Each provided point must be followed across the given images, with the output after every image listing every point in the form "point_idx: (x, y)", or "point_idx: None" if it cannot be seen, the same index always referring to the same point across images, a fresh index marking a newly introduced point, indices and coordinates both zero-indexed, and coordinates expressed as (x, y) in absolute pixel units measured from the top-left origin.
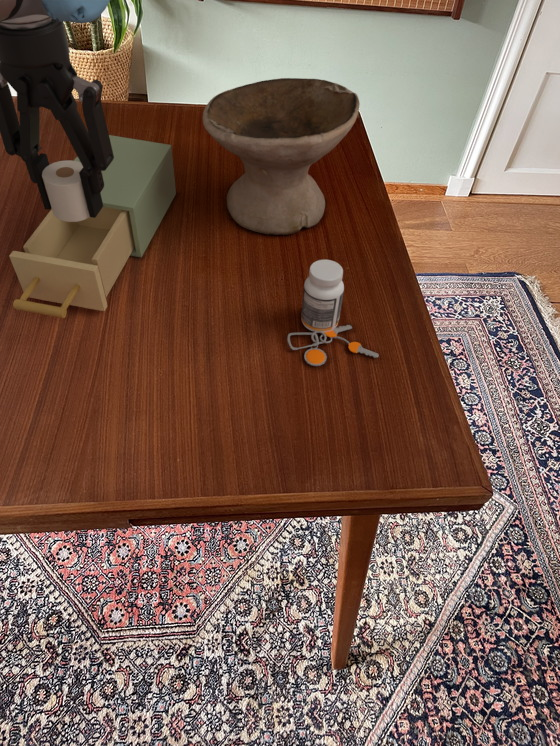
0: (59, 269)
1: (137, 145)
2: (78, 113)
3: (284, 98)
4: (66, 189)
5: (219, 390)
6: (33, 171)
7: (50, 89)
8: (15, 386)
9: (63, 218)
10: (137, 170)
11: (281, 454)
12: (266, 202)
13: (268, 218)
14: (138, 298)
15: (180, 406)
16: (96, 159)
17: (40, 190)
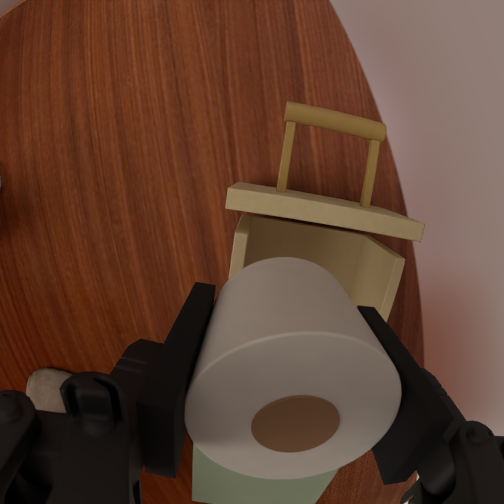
0: (317, 200)
1: (242, 500)
2: None
3: None
4: (266, 324)
5: (60, 77)
6: (436, 395)
7: None
8: (335, 35)
9: (302, 262)
10: (223, 467)
11: (18, 31)
12: (60, 409)
13: (57, 388)
14: (192, 230)
15: (101, 39)
16: (5, 446)
17: (396, 343)
